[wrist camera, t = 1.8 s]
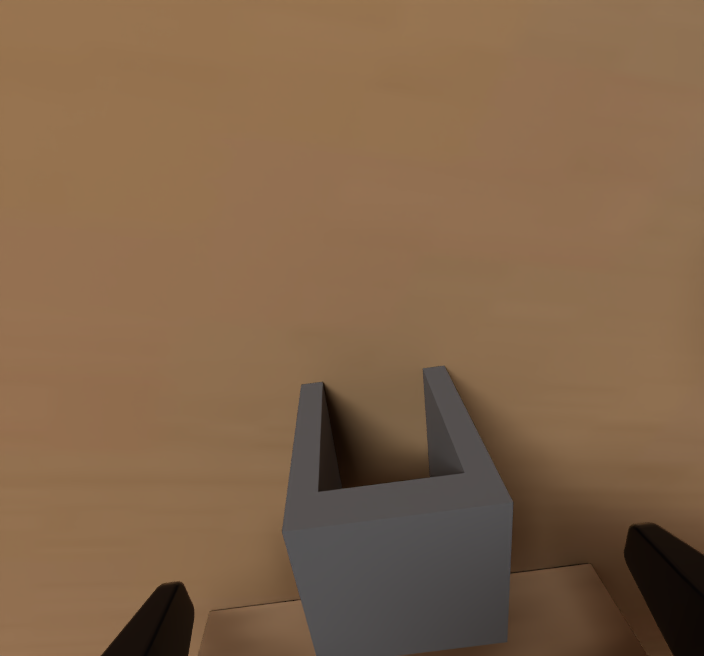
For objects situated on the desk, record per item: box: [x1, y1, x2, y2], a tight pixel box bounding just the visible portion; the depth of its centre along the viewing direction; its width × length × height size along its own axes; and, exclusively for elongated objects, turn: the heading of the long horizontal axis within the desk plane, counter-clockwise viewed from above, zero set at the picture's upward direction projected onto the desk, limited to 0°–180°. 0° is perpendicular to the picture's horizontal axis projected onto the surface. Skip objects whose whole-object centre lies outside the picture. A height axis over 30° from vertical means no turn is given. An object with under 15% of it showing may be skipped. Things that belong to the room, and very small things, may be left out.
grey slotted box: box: [282, 366, 513, 656], centre depth 10 cm, size 4×4×5 cm
